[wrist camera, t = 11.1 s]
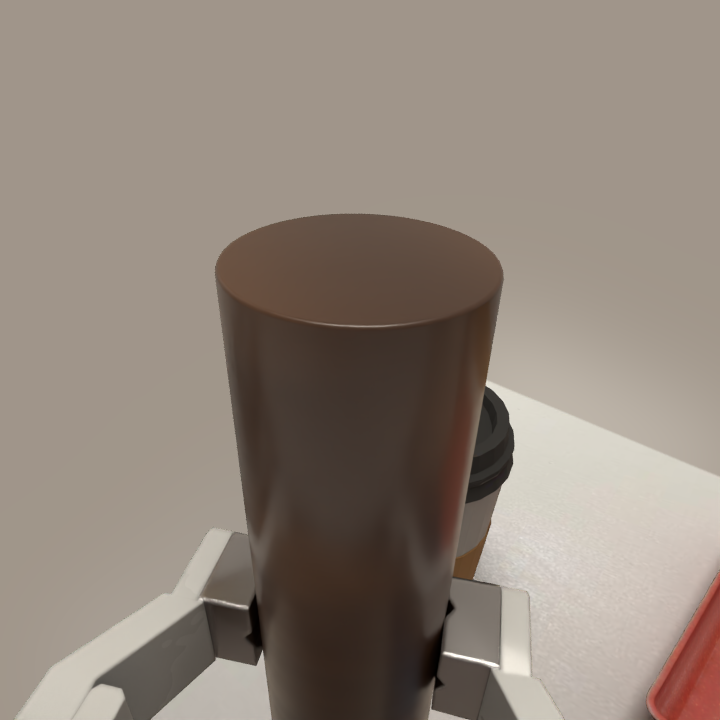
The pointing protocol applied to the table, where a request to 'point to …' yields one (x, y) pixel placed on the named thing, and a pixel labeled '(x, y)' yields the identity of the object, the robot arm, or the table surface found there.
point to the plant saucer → (692, 668)
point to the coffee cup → (484, 481)
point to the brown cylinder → (355, 447)
